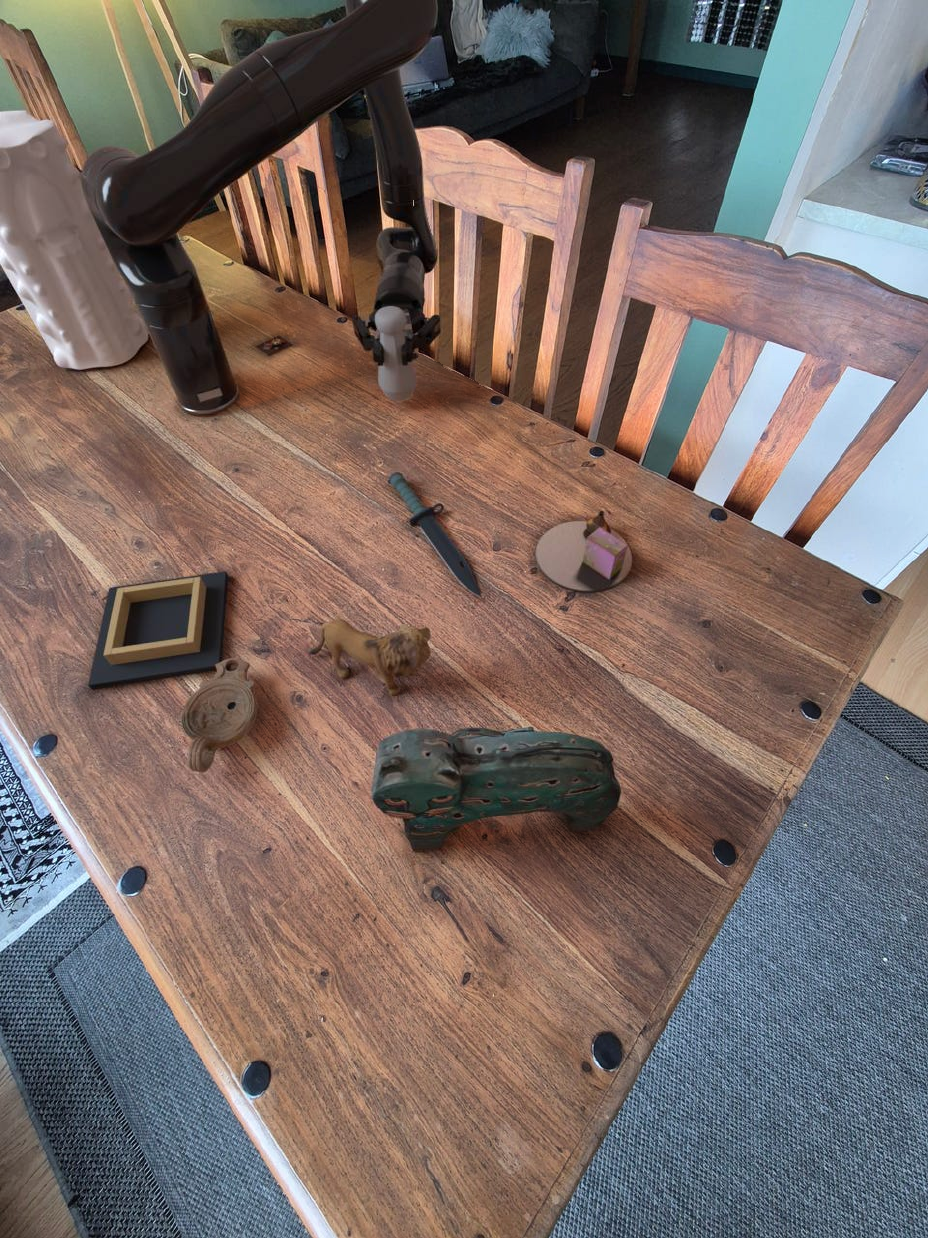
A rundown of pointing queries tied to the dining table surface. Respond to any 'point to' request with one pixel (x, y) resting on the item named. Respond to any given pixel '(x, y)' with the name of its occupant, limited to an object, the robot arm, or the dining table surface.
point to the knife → (435, 533)
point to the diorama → (274, 345)
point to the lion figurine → (377, 649)
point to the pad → (161, 630)
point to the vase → (60, 251)
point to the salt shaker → (394, 355)
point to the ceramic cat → (490, 779)
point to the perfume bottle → (584, 555)
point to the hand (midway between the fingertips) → (392, 359)
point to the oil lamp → (219, 712)
